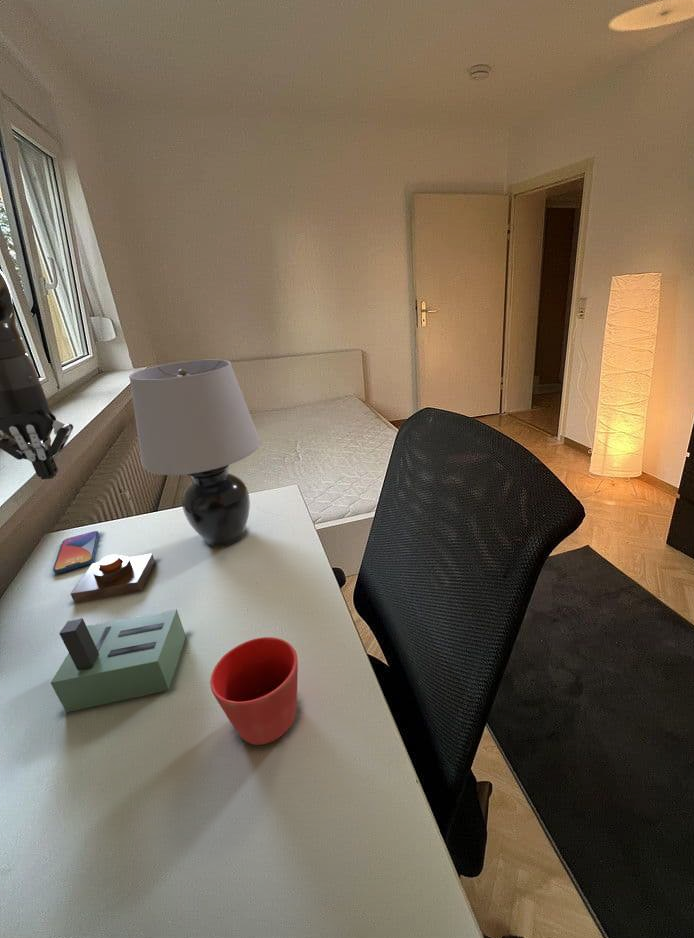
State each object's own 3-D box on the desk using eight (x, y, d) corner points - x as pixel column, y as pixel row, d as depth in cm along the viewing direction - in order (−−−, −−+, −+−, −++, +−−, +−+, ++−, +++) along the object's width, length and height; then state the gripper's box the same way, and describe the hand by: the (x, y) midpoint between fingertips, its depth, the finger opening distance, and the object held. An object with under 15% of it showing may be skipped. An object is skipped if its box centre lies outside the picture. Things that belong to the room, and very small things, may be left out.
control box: (74, 602, 86) (66, 586, 84) (95, 571, 95) (89, 556, 93) (140, 591, 88) (134, 574, 86) (155, 561, 97) (150, 546, 95)
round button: (98, 573, 88) (95, 566, 87) (105, 563, 91) (102, 556, 91) (117, 570, 89) (115, 563, 88) (124, 560, 92) (121, 553, 91)
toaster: (66, 712, 64) (49, 682, 61) (97, 653, 74) (84, 625, 71) (169, 690, 66) (157, 660, 64) (186, 636, 76) (176, 608, 74)
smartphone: (100, 533, 110) (98, 529, 109) (94, 564, 97) (92, 559, 97) (64, 543, 107) (62, 539, 106) (53, 575, 94) (51, 571, 94)
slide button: (77, 670, 63) (59, 633, 60) (84, 657, 65) (67, 621, 62) (92, 667, 63) (75, 630, 61) (99, 654, 66) (82, 618, 63)
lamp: (178, 522, 112) (129, 365, 96) (274, 503, 119) (244, 352, 103) (162, 578, 91) (96, 390, 75) (280, 552, 98) (243, 372, 82)
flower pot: (261, 675, 68) (248, 627, 64) (322, 697, 64) (312, 647, 60) (209, 739, 59) (190, 688, 55) (276, 769, 55) (261, 716, 51)
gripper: (66, 376, 79) (97, 464, 85) (-19, 383, 76) (20, 473, 83) (43, 385, 72) (80, 481, 79) (-50, 393, 70) (-5, 491, 76)
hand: (49, 477), depth 81 cm, fingers closed
